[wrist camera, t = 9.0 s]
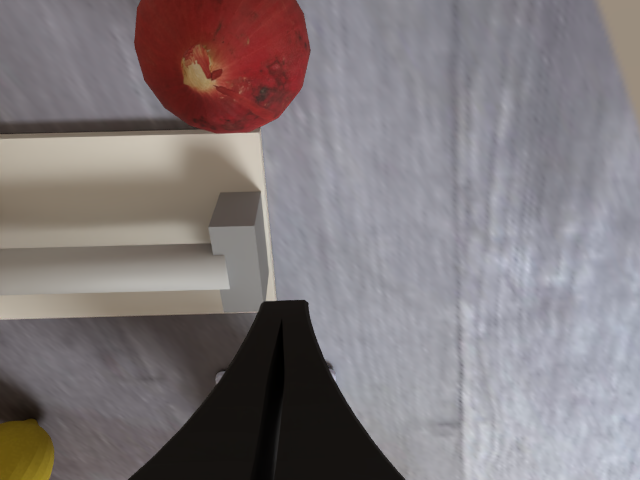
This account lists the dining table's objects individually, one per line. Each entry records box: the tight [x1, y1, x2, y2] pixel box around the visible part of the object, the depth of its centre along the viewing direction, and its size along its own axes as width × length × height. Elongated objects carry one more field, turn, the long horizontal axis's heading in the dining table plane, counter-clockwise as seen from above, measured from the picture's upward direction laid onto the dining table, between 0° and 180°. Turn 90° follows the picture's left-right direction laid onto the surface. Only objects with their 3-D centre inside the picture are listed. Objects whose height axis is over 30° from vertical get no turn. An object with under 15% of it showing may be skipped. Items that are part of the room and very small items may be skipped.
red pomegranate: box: [134, 0, 311, 134], centre depth 15 cm, size 6×6×8 cm
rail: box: [0, 128, 277, 319], centre depth 22 cm, size 24×11×4 cm, turn 91°
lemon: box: [0, 419, 54, 480], centre depth 30 cm, size 6×6×8 cm
